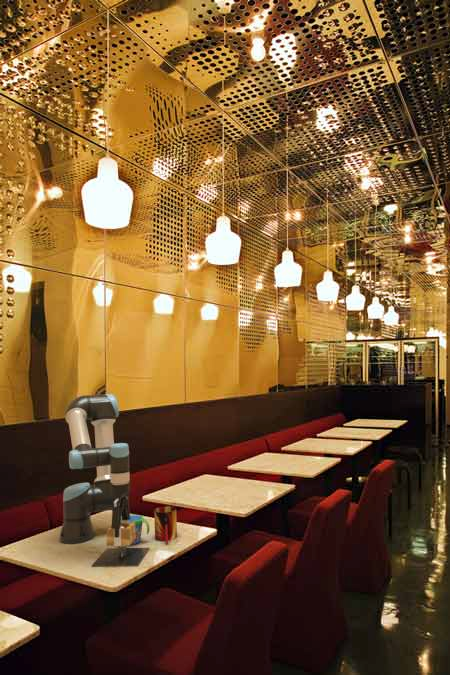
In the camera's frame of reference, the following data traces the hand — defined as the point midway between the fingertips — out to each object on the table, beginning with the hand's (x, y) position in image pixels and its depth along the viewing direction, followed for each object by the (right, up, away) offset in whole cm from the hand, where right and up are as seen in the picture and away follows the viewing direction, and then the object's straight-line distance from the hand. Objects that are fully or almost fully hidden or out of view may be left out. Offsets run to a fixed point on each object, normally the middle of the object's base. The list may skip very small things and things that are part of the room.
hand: (121, 541), depth 186 cm
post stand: (0, -6, 0) cm, 6 cm away
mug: (+16, -8, +19) cm, 26 cm away
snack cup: (+1, -8, +17) cm, 18 cm away
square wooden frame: (0, 0, 0) cm, 0 cm away
